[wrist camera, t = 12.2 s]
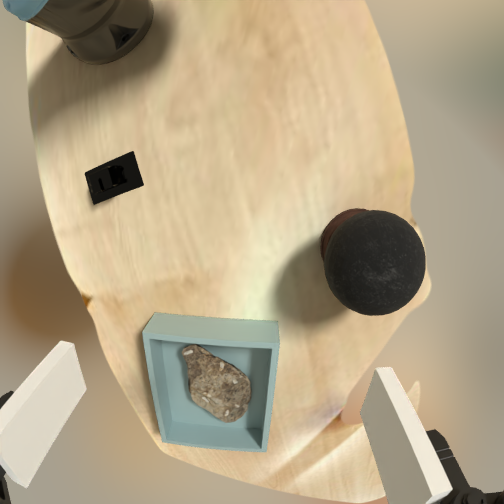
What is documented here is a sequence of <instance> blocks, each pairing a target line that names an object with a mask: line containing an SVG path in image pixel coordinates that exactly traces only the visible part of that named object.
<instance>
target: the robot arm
mask: <svg viewBox="0 0 504 504" xmlns="http://www.w3.org/2000/svg"><path fill="white" fill-rule="evenodd" d="M3 4H4V7H5V9H6V10H7V11H9V12H11V13H12V14H14V15H16V16H17V17H18V18H19V19H20V20H23V21H26V22H28V23H31V24H33V25H35V26H37V27H40V28H42V29H44V30H46V31H48V32H51V33H53V34H55V35H57V36H59V37H61V38H62V40H63V41H64V43H65V44H66V45H67V48H68V49H69V51H70V52H71V54H72V55H73V56H75V57H76V58H77V59H79V60H81V61H83V62H86V63H89V64H105V63H109V62H112V61H114V60H116V59H118V58H120V57H122V56H124V55H125V54H127V53H128V52H129V51H131V50H132V49H133V48H134V47H135V46H136V45H137V44H138V43H139V42H140V41H141V40H142V38H143V37H144V36H145V34H146V33H147V31H148V29H149V27H150V25H151V22H152V18H153V5H152V2H151V0H3ZM86 390H87V388H86V385H85V382H84V378H83V375H82V372H81V368H80V365H79V361H78V358H77V354H76V350H75V346H74V344H73V343H69V342H64V341H60V342H59V343H58V344H57V345H56V346H55V348H54V349H53V350H52V351H51V352H50V353H49V354H48V355H47V356H46V357H45V358H44V359H43V361H42V362H41V363H40V364H39V365H38V366H37V367H36V368H35V369H34V371H33V372H32V373H31V374H30V375H29V376H28V377H27V379H26V380H25V381H24V382H23V383H22V384H21V385H20V386H19V388H18V389H17V390H16V391H15V392H13V391H10V392H9V393H6V394H5V395H3V396H2V397H1V398H0V504H11V501H10V497H9V492H8V488H7V483H6V480H5V478H4V477H3V476H4V475H5V473H7V474H8V475H9V476H10V478H11V479H12V480H13V481H15V482H16V483H18V484H20V485H22V486H24V487H25V488H27V487H28V485H29V484H30V482H31V480H32V478H33V476H34V475H35V473H36V471H37V469H38V468H39V466H40V464H41V462H42V460H43V459H44V457H45V456H46V454H47V452H48V451H49V449H50V447H51V446H52V444H53V442H54V441H55V439H56V437H57V436H58V434H59V432H60V431H61V429H62V427H63V426H64V424H65V422H66V421H67V419H68V418H69V416H70V414H71V413H72V412H73V410H74V408H75V407H76V405H77V404H78V402H79V401H80V399H81V397H82V396H83V394H84V393H85V391H86ZM360 415H361V418H362V420H363V424H364V427H365V430H366V433H367V436H368V439H369V442H370V445H371V448H372V451H373V454H374V457H375V461H376V464H377V467H378V470H379V473H380V477H381V480H382V483H383V487H384V490H385V493H386V497H387V500H388V503H389V504H504V491H503V492H496V493H486V494H485V493H483V492H482V491H481V490H479V489H477V488H473V487H470V486H469V484H468V483H467V481H466V479H465V477H464V475H463V473H462V471H461V469H460V467H459V465H458V463H457V461H456V459H455V457H453V453H452V451H451V449H449V445H448V443H447V441H446V440H445V438H444V437H443V436H442V435H441V434H440V433H439V432H438V431H437V430H430V431H425V430H424V428H423V426H422V424H421V422H420V420H419V418H418V416H417V414H416V412H415V410H414V408H413V406H412V404H411V402H410V400H409V399H408V397H407V395H406V393H405V391H404V389H403V387H402V386H401V384H400V382H399V380H398V378H397V376H396V375H395V373H394V371H393V369H392V367H386V368H376V369H375V372H374V375H373V378H372V381H371V384H370V386H369V389H368V392H367V395H366V398H365V400H364V403H363V406H362V409H361V411H360Z"/></svg>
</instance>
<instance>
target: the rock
mask: <svg viewBox="0 0 504 504" xmlns="http://www.w3.org/2000/svg"><path fill="white" fill-rule="evenodd" d="M182 355H183V357H184V359H185V361H186V364H187V368H188V371H187V373H188V389H189V392H190V393H191V397H192V400H193V401H194V402H195V403H196V404H197V405H198V406H201V407H202V408H205V409H206V410H208V411H209V412H210V413H211V414H212V415H214V416H215V417H217V418H218V419H219V420H221V421H223V422H225V423H231V422H235V421H237V420H238V419H239V418H241V417H242V416H243V415H244V414H245V413H246V411H247V410H248V404H249V402H250V400H251V393H252V390H251V386H250V385H251V382H250V380H249V378H248V376H246V375H245V373H243V372H242V371H241V370H240V369H238V368H237V367H236V366H234V365H233V364H230V363H228V362H227V361H225V360H223V359H221V358H219V357H217V356H214V355H213V354H212V353H211V352H209V351H207V350H206V349H205V348H203V347H202V346H200V345H199V344H192V345H189V346H186V347H184V349H183V350H182Z"/></svg>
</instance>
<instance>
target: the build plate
mask: <svg viewBox="0 0 504 504" xmlns="http://www.w3.org/2000/svg"><path fill="white" fill-rule="evenodd" d="M85 176H86V180H87V184H88V187H89V191H90V194H91V198H92V201H93V204H94V205H95V204H97V203H100V202H102V201H105V200H107V199H110V198H112V197H115V196H117V195H120V194H123V193H125V192H128V191H130V190H133V189H136V188H139V187H141V186H143V185H144V183H143V180H142V177H141V174H140V171H139V168H138V164H137V161H136V158H135V155H134V152H133V151H132V152H129V153H127V154H125V155H122V156H120V157H118V158H115V159H113V160H111V161H109V162H107V163H104V164H102V165H100V166H98V167H96V168H94V169H92V170H89V171H87V172H85Z"/></svg>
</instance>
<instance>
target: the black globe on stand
mask: <svg viewBox="0 0 504 504" xmlns="http://www.w3.org/2000/svg"><path fill="white" fill-rule="evenodd" d="M321 255H322V258H323V261H324V268H325V275H326V278H327V281H328V284H329V287H330V289H331V290H332V292H333V294H334V295H335V296H336V297H337V298H338V300H339V301H340V302H341V303H342V304H343V305H345V306H346V307H348V308H349V309H351V310H353V311H355V312H358V313H360V314H364V315H370V316H373V315H385V314H389V313H392V312H394V311H397V310H399V309H400V308H402V307H403V306H405V305H406V304H407V303H408V302H409V301H410V300H411V299H412V298H413V297H414V296H415V294H416V293H417V291H418V290H419V288H420V286H421V284H422V281H423V278H424V274H425V252H424V247H423V244H422V242H421V239H420V238H419V236H418V234H417V233H416V231H415V230H414V228H413V227H412V226H411V225H410V224H409V223H408V222H407V221H405V220H404V219H402V218H401V217H399V216H397V215H395V214H393V213H390V212H386V211H379V210H370V211H369V210H366V209H358V208H356V209H349V210H347V211H344V212H342V213H340V214H338V215H337V216H336V217H335V218H333V219H332V220H331V221H330V223H329V224H328V225H327V227H326V229H325V231H324V233H323V236H322V239H321Z"/></svg>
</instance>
